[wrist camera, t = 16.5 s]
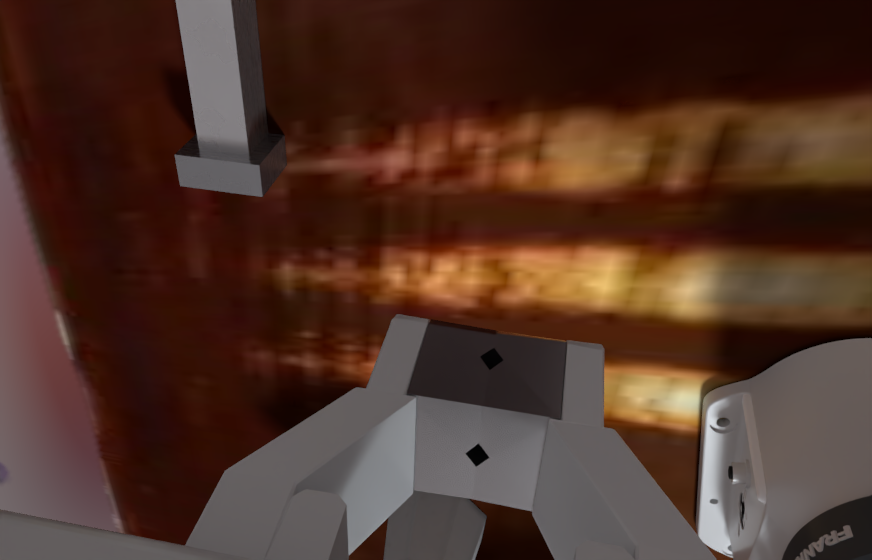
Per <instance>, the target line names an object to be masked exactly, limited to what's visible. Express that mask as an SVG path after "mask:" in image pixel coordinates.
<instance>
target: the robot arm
mask: <svg viewBox="0 0 872 560" xmlns="http://www.w3.org/2000/svg"><path fill="white" fill-rule="evenodd" d="M719 418H725V419H719ZM413 490H416V491H422V492H429V493H435V494H442V495H449V496H455V497H462V498H468V499H474V500H479V501H484V502H489V503H494V504H498V505H503V506H508V507H513V508H518V509H523V510H528V511H532V515H533V517H534V519H535V521H536V523H537V525H538V527H539V529H540V531H541V533H542V535H543V537H544V539H545V541H546V544H547V546H548V548H549V550H550V552H551V554H552V556H553V558H554V560H717V559H716V558H715V557H714V556H713V554H712V553H711V552H710V550H709V549H708V548H707V547H706V545H707V546H709V547H711V548H712V549H714V550H716V551H718V552H720V553H722V554H724V555H727V556H729V557H732V558H733V560H872V338H858V339H847V340H840V341H835V342H830V343H825V344H821V345H818V346H814V347H811V348H808V349H805V350H803V351H800V352H798V353H795V354H793V355H791V356H789V357H787V358H785V359H783V360H781V361H779V362H778V363H776V364H775V365H773V366H771V367H770V368H768V369H767V370H765V371H764V372H762V373H760V374H759V375H757V376H755V377H753V378H751V379H748V380H744V381H740V382H736V383H733V384H729V385H725V386H722V387H719V388H716V389H714V390H712V391H710V392H709V393H708V394H707V395H706V396H705V397H704V400H703V409H702V426H701V442H700V459H699V476H698V493H697V510H696V530H697V534H698V535H697V534H696V533H695V531H694V530H693V529H692V528H691V526H690V525H689V524H688V522H687V521H686V520H685V519H684V517H683V516H682V515H681V514H680V512H679V511H678V510H677V508H676V507H675V506H674V505H673V503H672V502H671V501H670V500H669V498H668V497H667V496H666V494H665V493H664V492H663V491H662V489H661V488H660V487H659V486H658V484H657V483H656V482H655V480H654V479H653V478H652V477H651V475H650V474H649V473H648V472H647V470H646V469H645V468H644V466H643V465H642V464H641V463H640V461H639V460H638V459H637V458H636V456H635V455H634V454H633V452H632V451H631V450H630V449H629V447H628V446H627V445H626V444H625V442H624V441H623V440H622V438H621V437H620V436H619V435H618V433H617V432H616V431H615V430H614V429H610V428H604V348H603V346H602V345H601V344H593V343H585V342H577V341H570V340H567V342H566V341H563V340H556V339H549V338H542V337H535V336H528V335H521V334H514V333H508V332H501V331H496V330H490V329H484V328H478V327H473V326H467V325H461V324H455V323H449V322H444V321H438V320H432V319H431V320H428V319H424V318H418V317H411V316H405V315H399V314H397V315H396V316H395V317H394V318H393V319H392V321H391V324H390V326H389V329H388V332H387V334H386V337H385V340H384V342H383V345H382V348H381V350H380V353H379V356H378V358H377V361H376V363H375V366H374V369H373V371H372V374H371V377H370V379H369V382H368V385H367V387H366V389H365V388H359V387H356V388H354V389H352V390H351V391H349V392H348V393H346V394H345V395H343V396H341V397H340V398H338V399H337V400H335V401H334V402H332V403H331V404H329V405H327V406H326V407H324V408H323V409H321V410H320V411H318V412H316V413H315V414H313V415H312V416H310V417H309V418H307V419H305V420H304V421H302V422H301V423H299V424H298V425H296V426H294V427H293V428H291V429H290V430H288V431H287V432H285V433H284V434H282V435H280V436H279V437H277V438H276V439H274V440H273V441H271V442H269V443H268V444H266V445H265V446H263V447H262V448H260V449H258V450H257V451H255V452H254V453H252V454H251V455H249V456H247V457H246V458H244V459H243V460H241V461H240V462H238V463H236V464H235V465H233V466H232V467H230V468H229V469H227V470H226V471H225V472H224V474H223V475H222V477H221V479H220V481H219V483H218V485H217V487H216V489H215V490H214V492H213V494H212V496H211V498H210V500H209V502H208V504H207V505H206V507H205V509H204V511H203V513H202V515H201V517H200V519H199V520H198V522H197V524H196V526H195V528H194V530H193V532H192V534H191V535H190V537H189V539H188V541H187V543H186V545H185V546H184V545H179V544H174V543H169V542H164V541H159V540H153V539H148V538H143V537H138V536H133V535H128V534H123V533H118V532H113V531H108V530H102V529H97V528H92V527H87V526H82V525H77V524H72V523H67V522H62V521H57V520H52V519H46V518H41V517H36V516H31V515H26V514H21V513H15V512H11V511H6V510H1V509H0V560H349V555H350V554H351V553H352V552H353V551H354V550H355V549H356V548H357V547H358V546H359V545H360V544H361V543H362V542H363V541H364V540H365V539H367V538H368V537H369V536H370V535H371V534H372V533H373V532H374V531H375V530H376V529H377V528H378V527H379V526H380V525H381V524H382V523H383V522H384V521H385V520H386V519H387V518H388V517H389V516H390V515H391V514H392V513H393V512H395V511H396V510H397V509H398V508H399V507H400V506H401V505H402V504H403V503H404V502H405V501H406V500H407V499H408V498H409V497H410V496H411V495H412V494H413ZM705 544H706V545H705Z"/></svg>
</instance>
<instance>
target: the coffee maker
mask: <svg viewBox="0 0 872 560" xmlns="http://www.w3.org/2000/svg"><path fill="white" fill-rule="evenodd" d="M486 518H487V516H486V515H485V514H484V513H483V512H482V511H481V510H480V509H479V508H478V507H477V506H476V505H475V504H473V503H472V502H471V501H470V500H469V499H468V498H462V497H455V496H449V495H442V494H435V493H429V492H422V491H416V490H413V494H412V495H411V496H410V497H409V498H408V499H407V500H406V501H405V502H404V503H403V504H402V505H401V506H400V507H399V508H398V509H397V510H396V511H395V512H393V513H392V514H391V515H390V516H389V517H388V526H387V534H386V543H385V552H384V560H475V558H476V555H477V552H478V549H479V546H480V544H481V541H482V536H483V532H484V527H485V522H486Z"/></svg>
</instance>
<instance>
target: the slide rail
mask: <svg viewBox="0 0 872 560" xmlns="http://www.w3.org/2000/svg"><path fill="white" fill-rule="evenodd" d="M176 6H177V13H178V19H179V25H180V32H181V38H182V44H183V50H184V57H185V63H186V69H187V76H188V82H189V88H190V95H191V101H192V107H193V114H194V120H195V126H196V133H197V134H196V135H195V136H194V137H193V138H191V139H190V140H189V141H188V142H187V143H186V144H185V145H184V146H183V147H182V148H181V149H180V150H179V151H178V152H177V153H176V154H175V160H176V165H177V171H178V176H179V182H180V186H185V187H192V188H200V189H207V190H215V191H222V192H230V193H237V194H245V195H252V196H260V197H263V196H264V195H265V193H266V192H267V191H268V189H269V188H270V187H271V185H272V184H273V183H274V181H275V180H276V179H277V177H278V176H279V175H280V173H281V172H282V171H283V169H284V168H285V167H286V166H287V162H286V150H285V138H284V135H279V134H271V133H268V126H267V116H266V106H265V95H264V85H263V75H262V65H261V55H260V44H259V34H258V24H257V14H256V4H255V0H176Z"/></svg>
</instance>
